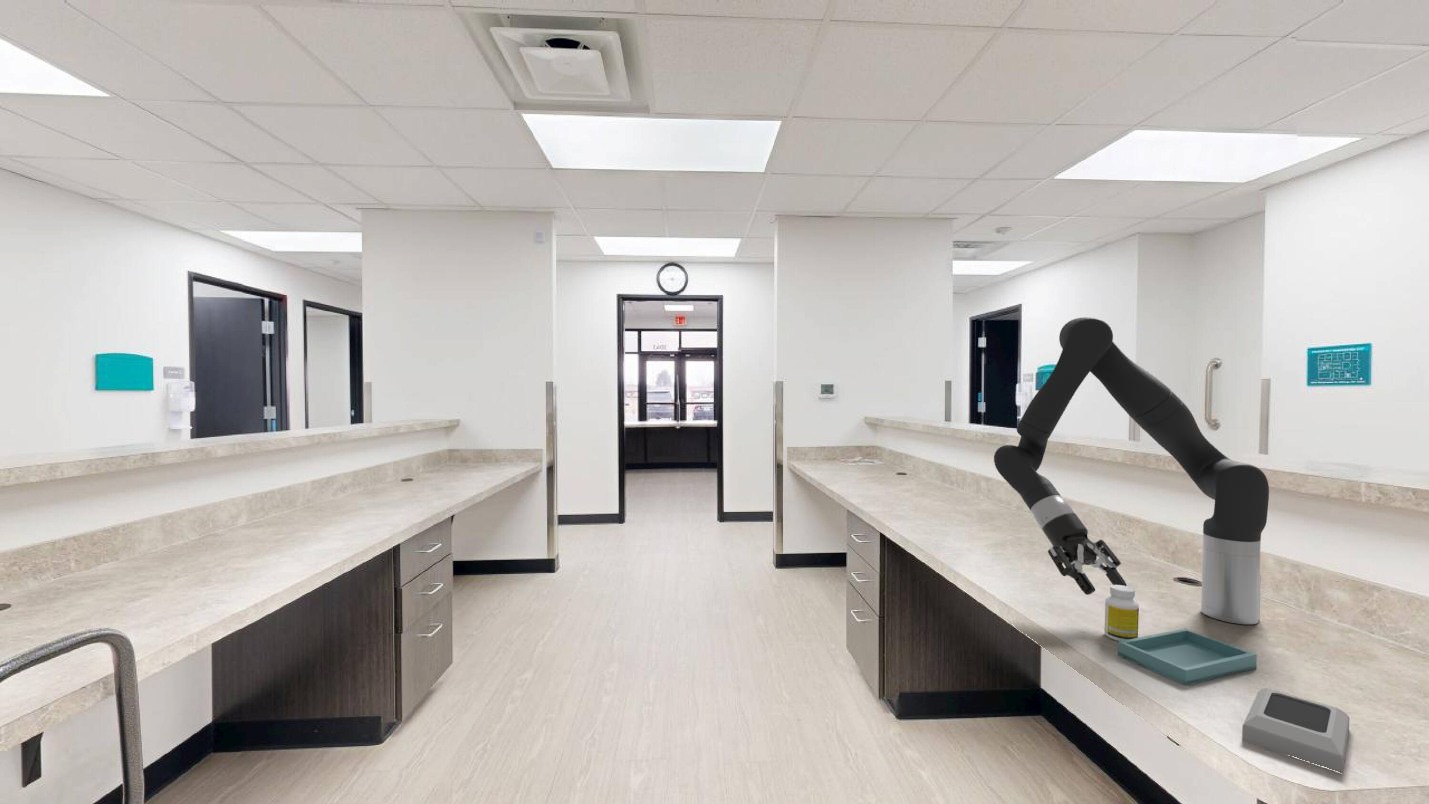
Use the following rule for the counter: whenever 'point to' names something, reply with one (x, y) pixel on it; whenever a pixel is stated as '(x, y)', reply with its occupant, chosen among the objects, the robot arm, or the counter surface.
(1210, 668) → the tray
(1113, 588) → the supplement bottle
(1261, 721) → the gray beveled slab
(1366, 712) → the counter surface
